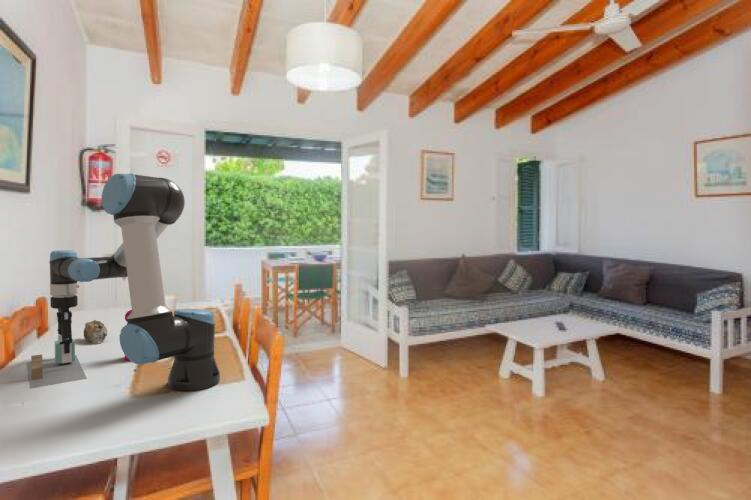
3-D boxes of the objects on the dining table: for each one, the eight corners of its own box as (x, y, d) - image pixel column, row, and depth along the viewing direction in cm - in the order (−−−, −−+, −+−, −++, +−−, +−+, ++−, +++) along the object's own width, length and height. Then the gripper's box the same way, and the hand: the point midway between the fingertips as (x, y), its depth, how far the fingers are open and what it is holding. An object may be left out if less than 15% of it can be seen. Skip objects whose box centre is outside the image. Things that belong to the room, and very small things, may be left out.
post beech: (42, 378, 134) (42, 356, 134) (31, 380, 132) (31, 357, 132) (42, 376, 136) (41, 354, 136) (31, 377, 134) (31, 355, 134)
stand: (87, 380, 135) (87, 378, 135) (29, 390, 126) (29, 388, 126) (76, 356, 158) (76, 354, 158) (27, 363, 149) (27, 361, 149)
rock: (112, 339, 178) (105, 316, 178) (94, 344, 173) (87, 320, 173) (103, 342, 185) (97, 320, 186) (86, 348, 180) (79, 325, 181)
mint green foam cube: (74, 361, 148) (74, 342, 148) (56, 363, 145) (55, 344, 145) (73, 357, 152) (72, 338, 152) (54, 359, 149) (54, 341, 148)
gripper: (81, 299, 140) (82, 364, 142) (73, 290, 159) (74, 347, 160) (53, 302, 136) (54, 369, 137) (48, 291, 154) (48, 350, 155)
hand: (64, 357), depth 148 cm, fingers open, 12 cm apart
